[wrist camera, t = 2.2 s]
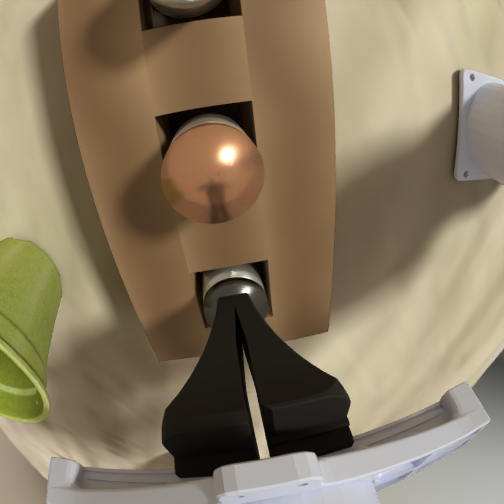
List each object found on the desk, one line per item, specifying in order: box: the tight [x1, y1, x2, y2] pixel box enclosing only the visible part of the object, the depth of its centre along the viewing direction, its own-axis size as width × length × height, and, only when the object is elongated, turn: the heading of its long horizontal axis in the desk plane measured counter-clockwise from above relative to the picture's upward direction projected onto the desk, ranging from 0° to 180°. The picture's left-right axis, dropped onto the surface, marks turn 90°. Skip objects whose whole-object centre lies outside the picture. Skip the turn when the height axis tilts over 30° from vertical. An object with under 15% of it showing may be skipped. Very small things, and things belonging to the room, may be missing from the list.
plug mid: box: [161, 113, 265, 224], centre depth 10 cm, size 3×3×4 cm
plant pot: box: [0, 238, 62, 423], centre depth 13 cm, size 9×9×9 cm
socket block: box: [57, 0, 336, 361], centre depth 13 cm, size 10×22×4 cm, turn 6°
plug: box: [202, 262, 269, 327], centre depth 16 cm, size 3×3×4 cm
